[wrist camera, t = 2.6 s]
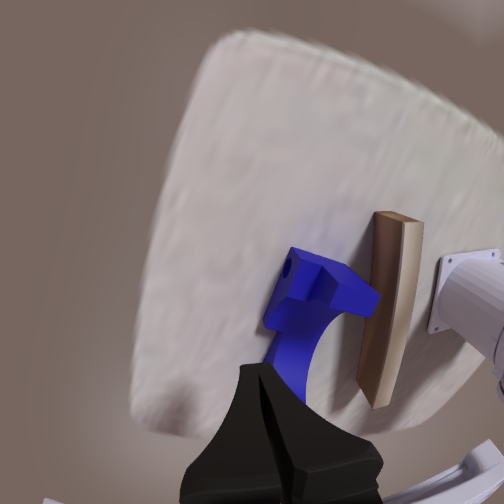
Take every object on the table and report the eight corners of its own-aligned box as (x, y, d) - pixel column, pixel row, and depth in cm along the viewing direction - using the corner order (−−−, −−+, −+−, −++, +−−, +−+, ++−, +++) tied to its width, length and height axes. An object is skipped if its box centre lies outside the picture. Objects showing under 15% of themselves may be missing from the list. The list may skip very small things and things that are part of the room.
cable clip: (290, 245, 21) (315, 276, 16) (344, 263, 22) (380, 295, 16) (238, 375, 24) (243, 426, 18) (286, 383, 25) (300, 432, 19)
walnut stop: (391, 211, 21) (424, 222, 17) (370, 376, 26) (388, 405, 22) (374, 211, 21) (405, 223, 17) (355, 380, 26) (372, 409, 21)
